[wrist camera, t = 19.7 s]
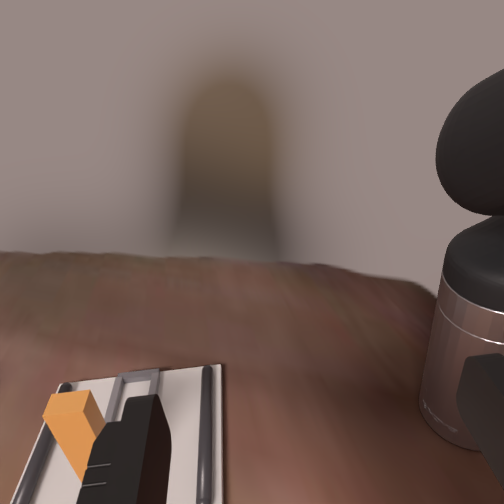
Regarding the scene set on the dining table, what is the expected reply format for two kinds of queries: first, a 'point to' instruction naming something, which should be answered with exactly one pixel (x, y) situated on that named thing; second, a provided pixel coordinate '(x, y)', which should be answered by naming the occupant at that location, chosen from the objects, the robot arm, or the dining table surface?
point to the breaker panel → (181, 427)
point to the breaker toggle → (74, 425)
